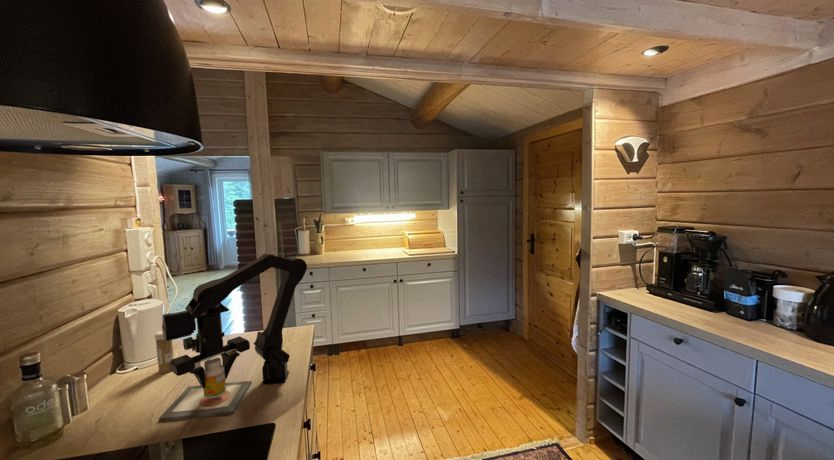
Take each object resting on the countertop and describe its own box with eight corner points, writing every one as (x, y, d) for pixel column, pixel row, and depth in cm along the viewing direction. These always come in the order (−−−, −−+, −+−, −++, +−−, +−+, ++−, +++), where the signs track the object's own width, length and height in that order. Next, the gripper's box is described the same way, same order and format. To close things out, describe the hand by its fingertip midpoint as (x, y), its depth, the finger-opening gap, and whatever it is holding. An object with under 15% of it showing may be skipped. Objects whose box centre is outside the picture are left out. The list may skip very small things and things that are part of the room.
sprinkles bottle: (174, 371, 114) (171, 332, 112) (157, 375, 111) (153, 335, 110) (175, 365, 117) (171, 328, 116) (158, 369, 115) (155, 331, 113)
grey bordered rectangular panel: (251, 383, 106) (251, 379, 105) (233, 413, 91) (233, 409, 91) (188, 388, 103) (188, 385, 103) (159, 421, 88) (158, 417, 88)
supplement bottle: (199, 396, 94) (196, 363, 93) (217, 386, 99) (214, 354, 98) (213, 400, 92) (210, 366, 91) (230, 390, 97) (227, 357, 96)
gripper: (230, 314, 106) (234, 361, 108) (159, 334, 91) (164, 389, 93) (249, 321, 100) (252, 372, 101) (175, 345, 85) (180, 403, 86)
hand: (214, 383), depth 96 cm, fingers closed on supplement bottle, 5 cm apart
